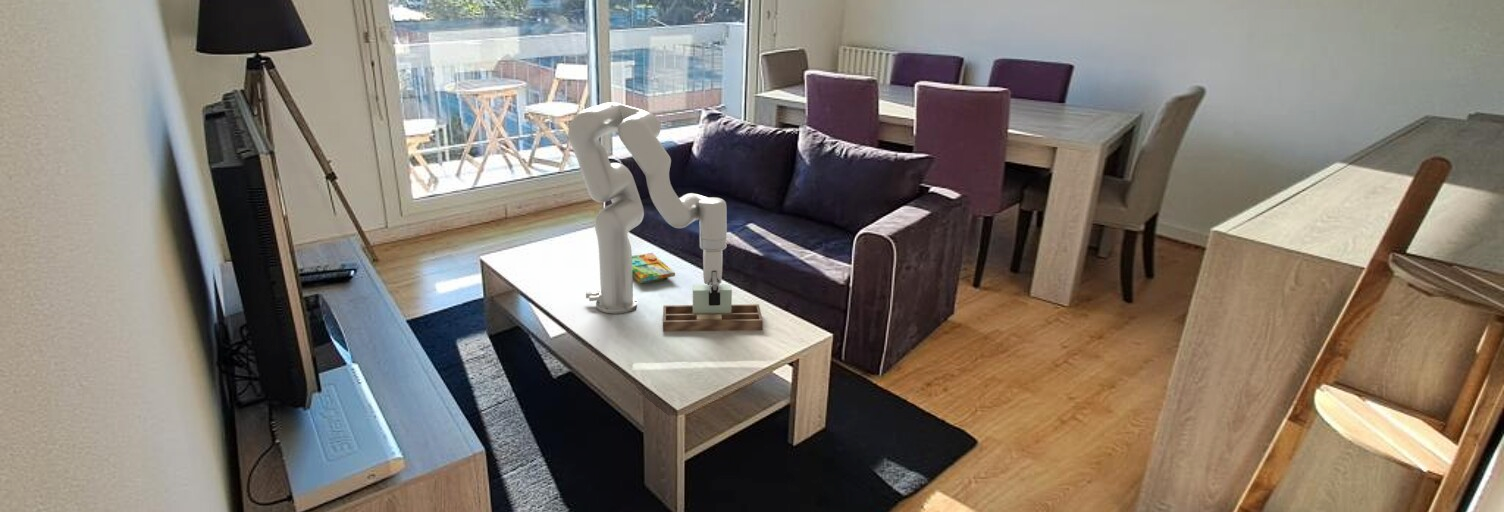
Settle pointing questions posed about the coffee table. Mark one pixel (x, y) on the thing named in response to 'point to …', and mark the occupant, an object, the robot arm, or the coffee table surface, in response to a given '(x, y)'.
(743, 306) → the tray
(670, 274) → the puzzle game
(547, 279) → the coffee table surface
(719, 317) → the offcut upper
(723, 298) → the pale green block
